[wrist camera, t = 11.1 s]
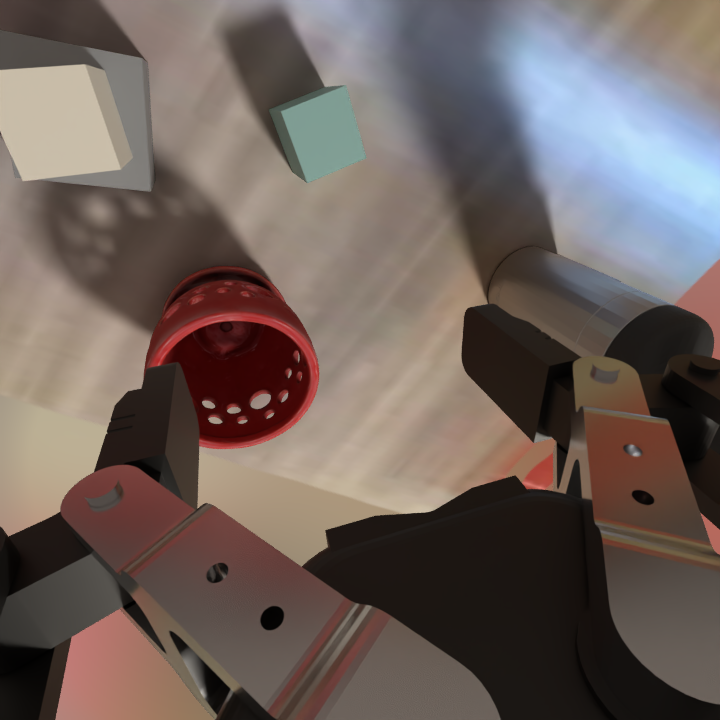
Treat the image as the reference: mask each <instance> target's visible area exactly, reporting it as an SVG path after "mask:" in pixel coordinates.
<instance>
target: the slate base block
mask: <svg viewBox="0 0 720 720" xmlns="http://www.w3.org/2000/svg"><path fill="white" fill-rule="evenodd" d="M82 64H86V65H89V66H92V67H95V68H99V69H102V70H105V73H106V76H107V79H108V82H109V85H110V88H111V91H112V94H113V97H114V101H115V104H116V107H117V110H118V113H119V116H120V119H121V122H122V125H123V128H124V131H125V135H126V138H127V141H128V144H129V147H130V150H131V153H132V156H133V158H132V159H131V160H130V161H129V162H128V163H127V164H126V165H125V166H124V167H123V168H122V169H121V170H113V171H105V172H96V173H88V174H79V175H71V176H63V177H54V178H46V179H37V180H43V181H53V182H62V183H72V184H82V185H92V186H101V187H111V188H121V189H130V190H140V191H150V192H151V190H152V187H153V185H154V183H155V171H154V154H153V138H152V122H151V105H150V89H149V73H148V63H147V62H146V61H145V60H144V59H142V58H139V57H134V56H129V55H124V54H119V53H114V52H109V51H104V50H99V49H94V48H89V47H84V46H79V45H74V44H69V43H64V42H59V41H54V40H49V39H44V38H39V37H34V36H29V35H23V34H18V33H13V32H8V31H3V30H0V70H8V69H23V68H37V67H52V66H67V65H82ZM10 155H11V154H10ZM11 160H12V165H13V170H14V175H15V178H21V176H20V174H19V171H18V169H17V167H16V165H15V163H14V160H13V158H12V156H11Z"/></svg>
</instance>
